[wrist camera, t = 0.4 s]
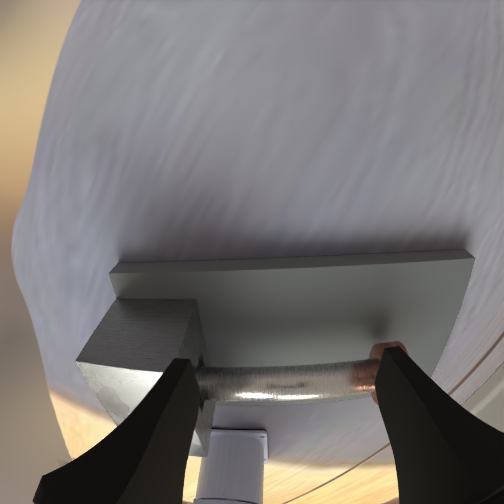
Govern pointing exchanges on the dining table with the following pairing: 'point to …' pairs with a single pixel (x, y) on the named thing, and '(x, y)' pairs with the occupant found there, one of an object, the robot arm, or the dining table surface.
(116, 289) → the base plate
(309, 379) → the shaft
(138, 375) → the bearing block
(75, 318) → the dining table surface
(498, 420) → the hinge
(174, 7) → the dining table surface
